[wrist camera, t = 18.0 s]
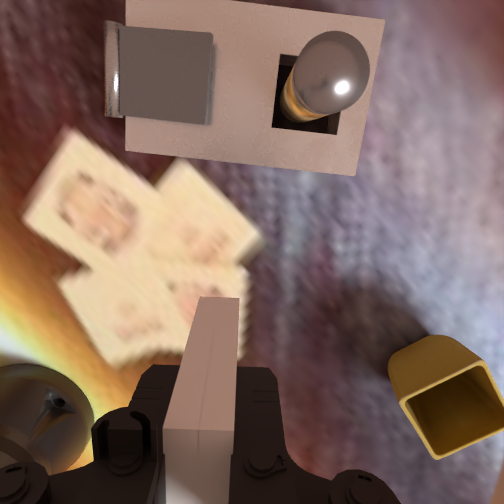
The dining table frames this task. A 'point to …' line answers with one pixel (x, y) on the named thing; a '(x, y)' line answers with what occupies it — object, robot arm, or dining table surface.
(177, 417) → the robot arm
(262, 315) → the dining table surface
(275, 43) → the block
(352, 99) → the lynch pin
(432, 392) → the flower pot
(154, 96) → the ring flap
